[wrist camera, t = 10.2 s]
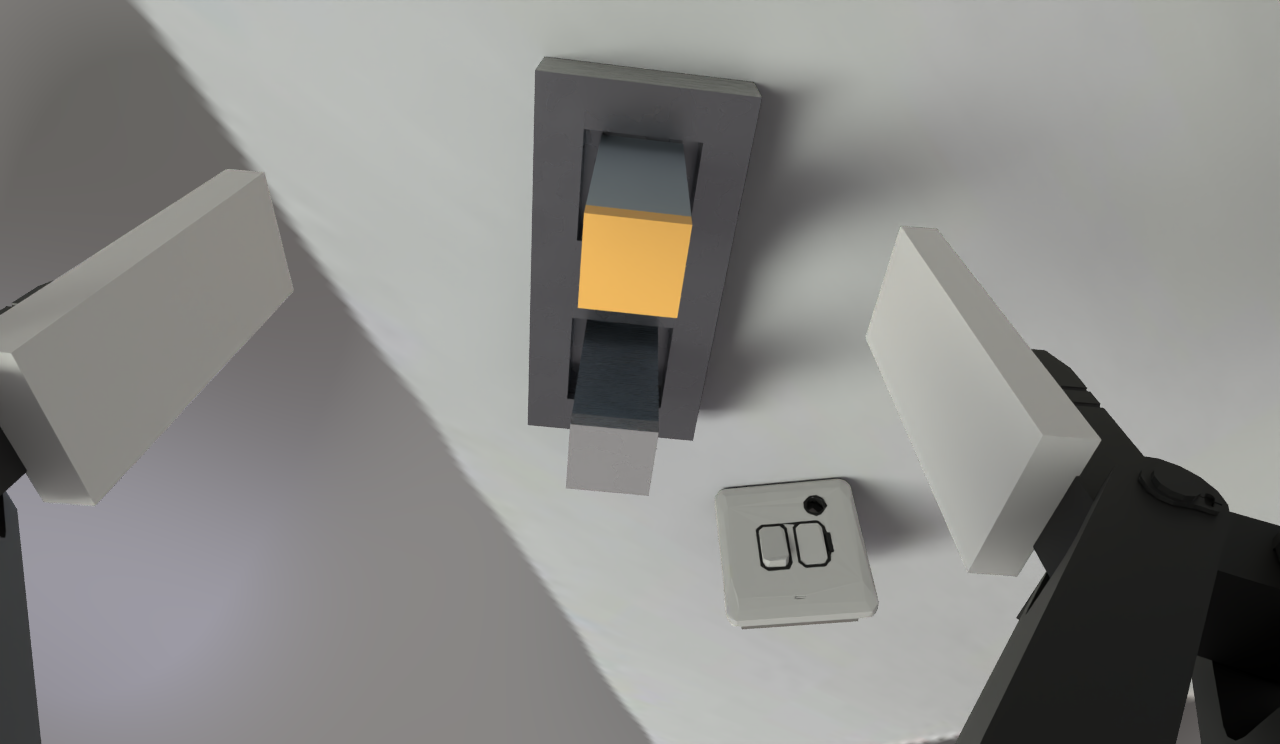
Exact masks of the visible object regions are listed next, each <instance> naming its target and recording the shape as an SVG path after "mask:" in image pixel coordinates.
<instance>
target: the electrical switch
mask: <svg viewBox="0 0 1280 744" xmlns="http://www.w3.org/2000/svg"><path fill="white" fill-rule="evenodd" d="M715 513H716V520H717V528H718V537H719V546H720V556H721V565H722V574H723V583H724V592H725V598H724V600H725V611H726V616H727V619H728V620H729V622H730V623H731V625H732V626H738V627H742V629H753V628H767V627H781V626H795V625H809V624H824V623H838V622H852V621H858V619H859V618H869V617H873V615H874V614H875V613H876V611H877V609H878V603H879V601H878V597H877V593H876V589H875V585H874V581H873V577H872V573H871V569H870V564H869V560H868V556H867V552H866V548H865V544H864V540H863V536H862V532H861V527H860V523H859V519H858V515H857V511H856V507H855V503H854V499H853V495H852V490H851V486H850V485H849V484H848V483H847V482H846V481H845V480H842V479H829V480H818V481H807V482H796V483H785V484H774V485H763V486H752V487H742V488H731V489H722V490H720V491H719V492H718V494H717V495H716V496H715Z"/></svg>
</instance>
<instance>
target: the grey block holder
mask: <svg viewBox="0 0 1280 744" xmlns="http://www.w3.org/2000/svg"><path fill="white" fill-rule="evenodd" d="M761 100H762V97H761V95H760V93H759V91H758V89H757V87H756V85H755V83H754V82H748V81H740V80H731V79H723V78H715V77H707V76H698V75H690V74H682V73H674V72H665V71H657V70H649V69H641V68H633V67H624V66H616V65H608V64H600V63H591V62H583V61H575V60H567V59H558V58H550V57H544V58H543V60H542V61H541V62H540V64H539V65H538V67H537V68H536V70H535V106H534V154H533V203H532V251H531V299H530V348H529V396H528V425H534V426H545V427H555V428H566V429H570V436H569V451H568V466H567V481H566V488H570V489H580V490H591V491H602V492H613V493H624V494H635V495H646V496H648V495H649V489H650V483H651V477H652V471H653V465H654V459H655V452H656V446H657V440H658V437H660V438H670V439H681V440H691V441H693V437H694V432H695V427H696V422H697V417H698V412H699V407H700V402H701V397H702V392H703V387H704V382H705V377H706V373H707V368H708V363H709V358H710V353H711V348H712V343H713V338H714V333H715V328H716V323H717V318H718V313H719V308H720V303H721V298H722V293H723V288H724V283H725V278H726V273H727V268H728V263H729V258H730V253H731V249H732V244H733V239H734V234H735V229H736V224H737V219H738V214H739V209H740V204H741V199H742V194H743V189H744V184H745V179H746V174H747V169H748V164H749V159H750V154H751V149H752V144H753V139H754V134H755V130H756V125H757V120H758V115H759V110H760V105H761ZM601 134H602V135H611V136H619V137H628V138H636V139H645V140H654V141H662V142H671V143H679V144H683V147H684V156H685V165H686V174H687V182H688V191H689V200H690V209H691V218H692V230H691V236H690V242H689V249H688V255H687V261H686V267H685V273H684V279H683V285H682V292H681V298H680V304H679V310H678V316H677V318H670V317H661V316H651V315H642V314H632V313H622V312H613V311H603V310H594V309H584V308H578V297H579V282H580V267H581V252H582V236H583V221H584V211H585V206H586V202H587V197H588V193H589V188H590V184H591V179H592V175H593V170H594V166H595V161H596V157H597V152H598V148H599V143H600V139H601Z"/></svg>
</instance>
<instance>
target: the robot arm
mask: <svg viewBox="0 0 1280 744" xmlns="http://www.w3.org/2000/svg"><path fill="white" fill-rule="evenodd" d="M293 291H294V290H293V285H292V281H291V277H290V274H289V270H288V266H287V261H286V257H285V254H284V250H283V245H282V241H281V237H280V233H279V229H278V225H277V221H276V217H275V213H274V209H273V205H272V201H271V197H270V193H269V189H268V185H267V181H266V177H265V173H264V172H256V171H244V170H232V169H226V170H224V171H223V172H221V173H220V174H218V175H217V176H215V177H214V178H212V179H210V180H209V181H207V182H206V183H204V184H203V185H201V186H200V187H198V188H197V189H195V190H194V191H192V192H190V193H189V194H187V195H186V196H184V197H183V198H181V199H179V200H178V201H176V202H175V203H173V204H172V205H170V206H169V207H167V208H166V209H164V210H162V211H161V212H159V213H158V214H156V215H155V216H153V217H152V218H150V219H148V220H147V221H145V222H144V223H142V224H141V225H139V226H138V227H136V228H135V229H133V230H132V231H130V232H128V233H127V234H125V235H124V236H122V237H121V238H119V239H117V240H116V241H114V242H113V243H111V244H110V245H108V246H107V247H105V248H104V249H102V250H100V251H99V252H97V253H96V254H94V255H93V256H91V257H90V258H88V259H86V260H85V261H83V262H82V263H80V264H79V265H77V266H76V267H74V268H73V269H71V270H70V271H68V272H66V273H65V274H63V275H62V276H60V277H59V278H57V279H55V280H53V281H51V282H48V283H45V284H43V285H40V286H38V287H36V288H35V289H33V290H31V291H30V292H28V293H27V294H25V295H24V296H22V297H20V298H19V299H17V300H16V301H14V302H13V303H12V307H8V306H6V307H5V308H3V309H2V310H0V744H41V737H40V728H39V718H38V708H37V698H36V689H35V679H34V670H33V659H32V650H31V640H30V630H29V620H28V611H27V601H26V593H25V592H26V591H25V582H24V572H23V562H22V552H21V544H20V533H19V524H18V514H17V508H16V507H15V505H14V503H13V502H12V500H11V499H10V497H9V495H8V494H7V492H6V490H7V489H8V488H9V487H10V486H12V485H13V484H14V483H15V482H16V481H17V480H18V479H19V478H20V477H21V476H22V475H24V474H25V473H26V474H27V476H28V478H29V479H30V481H31V482H32V484H33V486H34V487H35V489H36V490H37V492H38V494H39V495H40V497H41V498H42V500H43V502H47V503H60V504H74V505H87V506H96V505H97V504H98V503H99V502H100V501H101V500H102V499H103V498H104V496H105V495H106V494H107V493H108V492H109V491H110V490H111V489H112V488H113V487H114V486H115V484H117V482H118V481H119V480H120V479H121V478H122V477H123V476H124V475H125V474H126V473H127V471H128V470H129V469H130V468H131V467H132V466H133V465H134V464H135V463H136V462H137V461H138V460H139V459H140V457H141V456H142V455H143V454H144V453H145V452H146V451H147V450H148V449H149V448H150V447H151V445H152V444H153V443H154V442H155V441H156V440H157V439H158V438H159V437H160V436H161V434H163V432H164V431H165V430H166V429H167V428H168V427H169V426H170V425H171V424H172V423H173V422H174V421H175V419H176V418H177V417H178V416H179V415H180V414H181V413H182V412H183V411H184V409H186V407H187V406H188V405H189V404H190V403H191V402H192V401H193V400H194V399H195V398H196V397H197V396H198V394H199V393H200V392H201V391H202V390H203V389H204V388H205V387H206V386H207V385H208V383H210V381H211V380H212V379H213V378H214V377H215V376H216V375H217V374H218V373H219V372H220V371H221V369H222V368H223V367H224V366H225V365H226V364H227V363H228V362H229V361H230V360H231V359H232V358H233V356H234V355H235V354H236V353H237V352H238V351H239V350H240V349H241V348H242V347H243V345H244V344H245V343H246V342H247V341H248V340H249V339H250V338H251V337H252V336H253V335H254V333H256V331H257V330H258V329H259V328H260V327H261V326H262V325H263V324H264V323H265V322H266V321H267V320H268V318H269V317H270V316H271V315H272V314H273V313H274V312H275V311H276V310H277V309H278V308H279V306H280V305H281V304H282V303H283V302H284V301H285V300H286V299H287V298H288V297H289V296H290V294H291V293H292V292H293ZM865 338H866V340H867V342H868V345H869V347H870V349H871V352H872V354H873V356H874V359H875V361H876V363H877V365H878V368H879V370H880V372H881V375H882V377H883V379H884V382H885V384H886V386H887V388H888V391H889V393H890V395H891V398H892V400H893V402H894V405H895V407H896V409H897V412H898V414H899V416H900V418H901V421H902V423H903V425H904V428H905V430H906V432H907V435H908V437H909V439H910V441H911V444H912V446H913V448H914V451H915V453H916V455H917V458H918V460H919V462H920V464H921V467H922V469H923V471H924V474H925V476H926V478H927V481H928V483H929V485H930V487H931V490H932V492H933V494H934V497H935V499H936V501H937V504H938V506H939V508H940V510H941V513H942V515H943V517H944V520H945V522H946V524H947V527H948V529H949V531H950V534H951V536H952V538H953V540H954V543H955V545H956V547H957V550H958V552H959V554H960V557H961V559H962V561H963V563H964V566H965V568H966V570H967V573H977V574H990V575H1003V576H1016V577H1017V576H1018V575H1019V573H1020V572H1021V570H1022V568H1023V567H1024V565H1025V563H1026V562H1027V560H1028V559H1029V557H1030V555H1031V554H1032V552H1033V550H1035V551H1036V553H1037V555H1038V557H1039V559H1040V561H1041V562H1042V564H1043V566H1044V568H1045V570H1046V573H1045V574H1044V576H1043V578H1042V579H1041V581H1040V582H1039V584H1038V585H1037V587H1036V588H1035V590H1034V591H1033V593H1032V594H1031V596H1030V597H1029V599H1028V601H1027V602H1026V604H1025V605H1024V607H1023V608H1022V610H1021V611H1020V613H1019V614H1018V616H1017V617H1016V618H1017V619H1019V621H1018V623H1017V625H1016V627H1015V629H1014V631H1013V633H1012V635H1011V637H1010V639H1009V641H1008V643H1007V645H1006V647H1005V648H1004V650H1003V652H1002V654H1001V656H1000V658H999V660H998V662H997V664H996V666H995V668H994V670H993V672H992V674H991V675H990V677H989V679H988V681H987V683H986V685H985V687H984V689H983V691H982V693H981V695H980V697H979V699H978V701H977V702H976V704H975V706H974V708H973V710H972V712H971V714H970V716H969V718H968V720H967V722H966V724H965V726H964V728H963V729H962V731H961V733H960V735H959V737H958V739H957V741H956V743H955V744H1176V740H1177V736H1178V731H1179V728H1180V723H1181V720H1182V715H1183V711H1184V707H1185V703H1186V699H1187V695H1188V691H1189V686H1190V682H1191V678H1192V682H1193V689H1194V696H1195V703H1196V709H1197V717H1198V724H1199V730H1200V738H1201V744H1280V526H1278V525H1275V524H1271V523H1268V522H1264V521H1261V520H1257V519H1254V518H1250V517H1247V516H1243V515H1240V514H1236V513H1232V512H1229V507H1228V504H1227V503H1226V501H1225V500H1224V499H1223V497H1222V496H1221V495H1220V494H1219V492H1218V491H1217V490H1216V489H1214V488H1213V487H1212V486H1211V485H1209V484H1208V483H1207V482H1206V481H1204V480H1203V479H1202V478H1201V477H1199V476H1197V475H1195V474H1193V473H1192V472H1190V471H1188V470H1186V469H1184V468H1182V467H1180V466H1178V465H1175V464H1172V463H1170V462H1167V461H1164V460H1161V459H1158V458H1151V457H1144V456H1143V455H1142V453H1141V452H1140V451H1139V450H1138V449H1137V447H1136V446H1135V445H1134V444H1133V443H1132V441H1131V440H1130V439H1129V438H1128V437H1127V435H1126V434H1125V433H1124V432H1123V431H1122V429H1121V428H1120V427H1119V426H1118V425H1117V423H1116V422H1115V421H1114V420H1113V419H1112V417H1111V416H1110V415H1109V414H1108V412H1107V411H1106V410H1105V409H1104V408H1100V403H1099V402H1098V400H1097V399H1096V398H1095V397H1094V396H1093V394H1092V393H1091V392H1088V391H1087V390H1086V389H1087V387H1086V386H1085V385H1084V384H1083V382H1082V381H1081V380H1080V379H1079V378H1078V376H1077V375H1076V374H1075V373H1074V372H1073V370H1072V369H1071V368H1070V367H1068V366H1067V365H1065V364H1064V363H1062V362H1061V361H1060V360H1058V359H1057V358H1055V357H1054V356H1052V355H1051V354H1050V353H1048V352H1047V351H1045V350H1035V349H1030V347H1029V346H1028V345H1027V344H1026V342H1025V341H1024V340H1023V338H1022V337H1021V336H1020V335H1019V333H1018V332H1017V331H1016V329H1015V328H1014V327H1013V326H1012V324H1011V323H1010V322H1009V320H1008V319H1007V318H1006V317H1005V315H1004V314H1003V313H1002V311H1001V310H1000V309H999V308H998V306H997V305H996V304H995V303H994V301H993V300H992V299H991V297H990V296H989V295H988V294H987V292H986V291H985V290H984V288H983V287H982V286H981V285H980V283H979V282H978V281H977V279H976V278H975V277H974V276H973V274H972V273H971V272H970V270H969V269H968V268H967V267H966V265H965V264H964V263H963V261H962V260H961V259H960V258H959V256H958V255H957V254H956V252H955V251H954V250H953V249H952V247H951V246H950V245H949V243H948V242H947V241H946V240H945V238H944V237H943V236H942V234H941V233H940V232H939V231H938V229H932V228H920V227H908V226H900V229H899V233H898V236H897V239H896V242H895V245H894V248H893V252H892V255H891V258H890V261H889V264H888V267H887V271H886V274H885V277H884V280H883V283H882V286H881V290H880V293H879V296H878V299H877V302H876V305H875V309H874V312H873V315H872V318H871V321H870V324H869V328H868V331H867V334H866V337H865Z"/></svg>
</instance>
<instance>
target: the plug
mask: <svg viewBox="0 0 1280 744" xmlns="http://www.w3.org/2000/svg"><path fill="white" fill-rule="evenodd" d="M691 230H692V218H691V209H690V200H689V191H688V182H687V174H686V165H685V156H684V147H683V144H679V143H671V142H662V141H654V140H645V139H636V138H628V137H619V136H611V135H602V134H601V139H600V143H599V148H598V152H597V157H596V161H595V166H594V170H593V175H592V179H591V184H590V188H589V193H588V197H587V202H586V206H585V211H584V221H583V236H582V252H581V267H580V282H579V297H578V308H584V309H594V310H603V311H613V312H622V313H632V314H642V315H651V316H661V317H670V318H677V316H678V310H679V304H680V298H681V292H682V285H683V279H684V273H685V267H686V261H687V255H688V249H689V242H690V236H691Z"/></svg>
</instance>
